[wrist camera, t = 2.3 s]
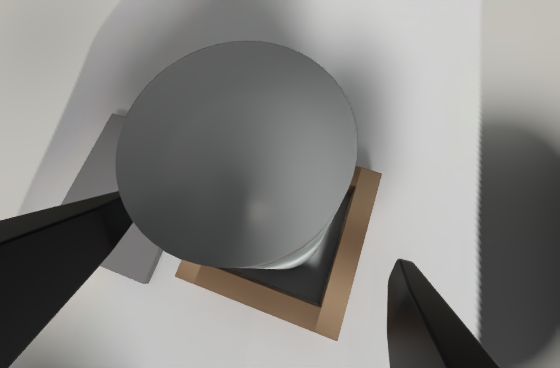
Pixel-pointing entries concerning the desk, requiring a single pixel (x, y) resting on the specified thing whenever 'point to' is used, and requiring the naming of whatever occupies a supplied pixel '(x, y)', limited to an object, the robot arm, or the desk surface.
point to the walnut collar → (338, 282)
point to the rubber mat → (102, 180)
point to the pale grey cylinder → (238, 156)
